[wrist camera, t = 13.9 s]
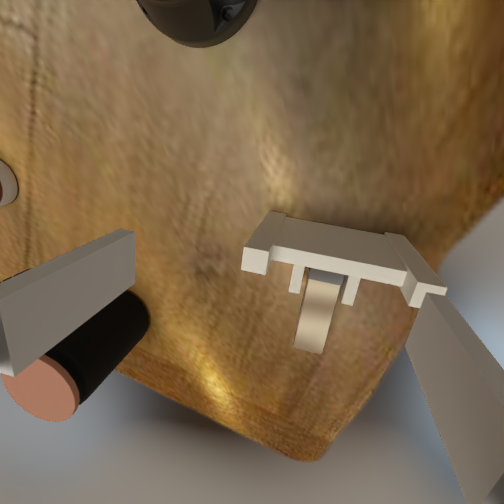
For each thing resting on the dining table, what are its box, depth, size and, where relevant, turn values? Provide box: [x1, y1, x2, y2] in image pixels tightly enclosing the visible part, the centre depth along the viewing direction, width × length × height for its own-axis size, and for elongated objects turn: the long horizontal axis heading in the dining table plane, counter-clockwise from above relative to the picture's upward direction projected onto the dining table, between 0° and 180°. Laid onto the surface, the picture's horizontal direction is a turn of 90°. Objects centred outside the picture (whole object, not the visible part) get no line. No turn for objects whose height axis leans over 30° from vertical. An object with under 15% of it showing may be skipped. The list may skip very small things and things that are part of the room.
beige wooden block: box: [293, 267, 344, 354], centre depth 42 cm, size 14×4×5 cm, turn 173°
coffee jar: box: [1, 291, 148, 422], centre depth 46 cm, size 11×11×18 cm
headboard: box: [241, 211, 447, 308], centre depth 35 cm, size 18×9×15 cm, turn 83°
